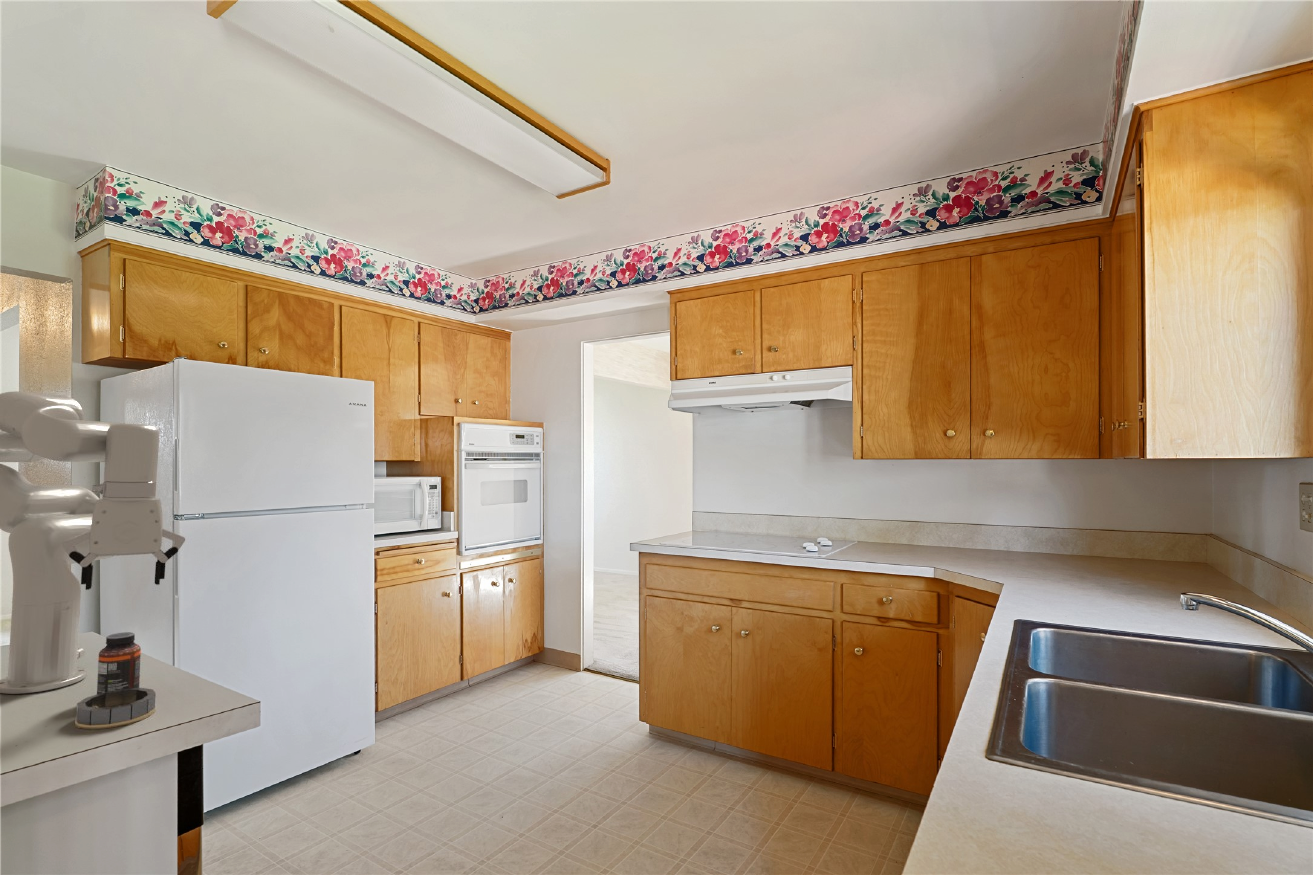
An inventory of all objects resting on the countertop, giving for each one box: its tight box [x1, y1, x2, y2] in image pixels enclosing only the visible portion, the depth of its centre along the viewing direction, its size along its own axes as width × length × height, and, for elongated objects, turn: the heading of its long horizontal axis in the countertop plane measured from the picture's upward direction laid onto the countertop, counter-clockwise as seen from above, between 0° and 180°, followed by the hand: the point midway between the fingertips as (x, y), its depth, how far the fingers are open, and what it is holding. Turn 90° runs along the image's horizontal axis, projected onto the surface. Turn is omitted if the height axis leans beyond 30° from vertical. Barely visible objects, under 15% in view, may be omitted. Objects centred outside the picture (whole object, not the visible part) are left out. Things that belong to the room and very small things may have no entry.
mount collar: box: [74, 687, 156, 730], centre depth 109 cm, size 10×10×3 cm
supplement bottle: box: [96, 631, 142, 694], centre depth 117 cm, size 6×6×11 cm
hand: (123, 585), depth 118 cm, fingers open, 9 cm apart
